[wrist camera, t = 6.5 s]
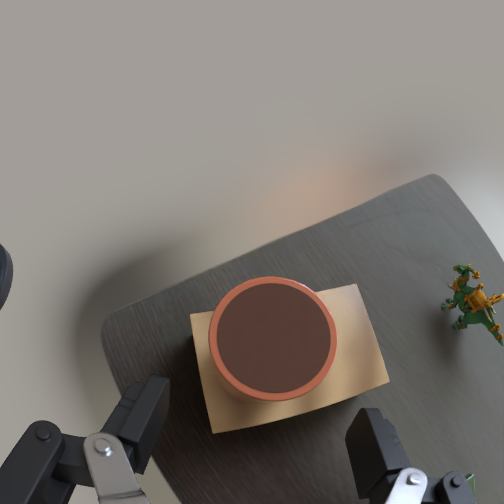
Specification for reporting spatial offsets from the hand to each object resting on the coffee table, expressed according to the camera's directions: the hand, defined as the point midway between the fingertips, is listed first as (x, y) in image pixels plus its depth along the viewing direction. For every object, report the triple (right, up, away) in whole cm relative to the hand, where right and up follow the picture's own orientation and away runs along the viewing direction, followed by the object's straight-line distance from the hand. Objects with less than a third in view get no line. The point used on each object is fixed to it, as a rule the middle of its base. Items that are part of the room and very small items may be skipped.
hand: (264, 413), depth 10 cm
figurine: (+25, -2, +18) cm, 31 cm away
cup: (0, -1, +9) cm, 9 cm away
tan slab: (+2, -4, +14) cm, 14 cm away
